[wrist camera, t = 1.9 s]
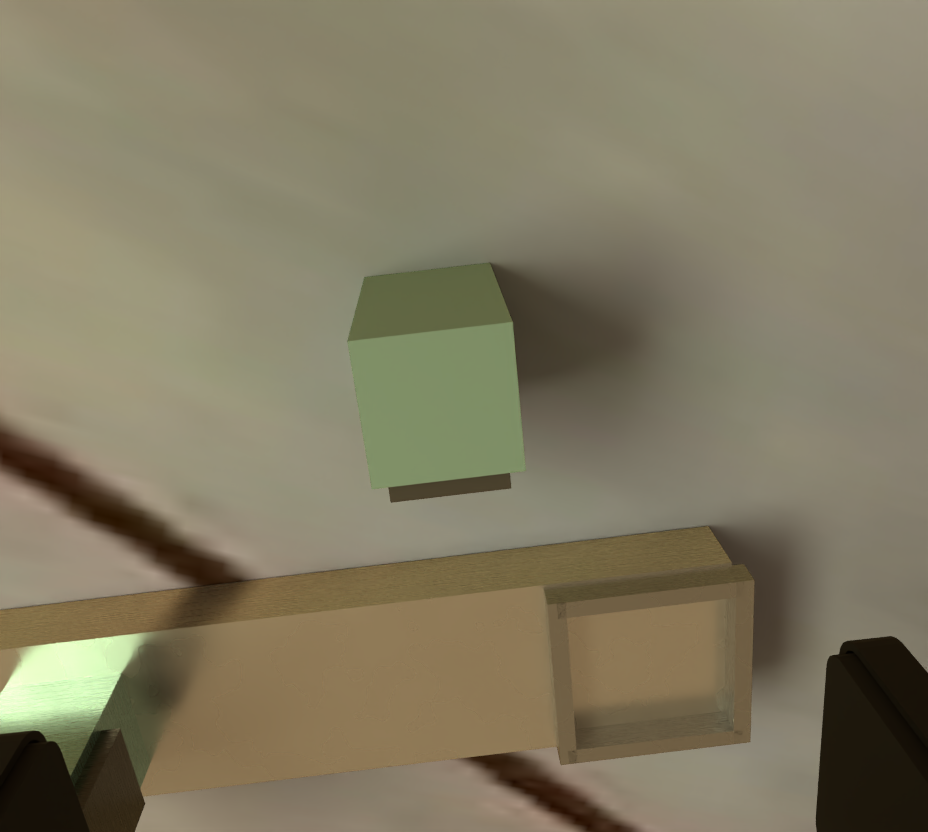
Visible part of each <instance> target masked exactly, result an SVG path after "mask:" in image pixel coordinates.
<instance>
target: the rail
mask: <svg viewBox="0 0 928 832" xmlns="http://www.w3.org/2000/svg"><path fill="white" fill-rule="evenodd" d="M754 583H755V580H754V579H753V577H752V576H751V574H750V573H749V571H748V570H747V568H746V567H745V565H744V564H738V565H732V562H731V560H730V559H729V557H728V556H727V554H726V553H725V551H724V550H723V548H722V546H721V545H720V543H719V542H718V540H717V539H716V537H715V536H714V534H713V533H712V531H711V529H710V528H709V526H704V527H696V528H688V529H679V530H671V531H662V532H654V533H646V534H637V535H629V536H620V537H612V538H604V539H595V540H587V541H578V542H570V543H562V544H553V545H545V546H536V547H528V548H520V549H511V550H503V551H494V552H486V553H477V554H469V555H461V556H452V557H444V558H435V559H427V560H419V561H410V562H402V563H393V564H385V565H377V566H368V567H360V568H351V569H343V570H335V571H326V572H318V573H309V574H301V575H293V576H284V577H276V578H267V579H259V580H251V581H242V582H234V583H225V584H217V585H209V586H200V587H192V588H183V589H175V590H167V591H158V592H150V593H141V594H133V595H125V596H116V597H108V598H99V599H91V600H82V601H74V602H66V603H57V604H49V605H40V606H32V607H24V608H15V609H7V610H0V734H6V733H15V732H24V731H33V730H34V731H39V732H41V733H42V734H43V735H44V737H45V738H46V740H47V742H48V741H54V742H56V743H57V744H58V745H59V747H60V749H61V752H62V755H63V757H64V760H65V763H66V766H67V769H68V772H69V774H70V777H71V780H72V783H73V786H74V789H75V791H76V794H77V797H78V800H79V803H80V806H81V808H82V811H83V814H84V817H85V820H86V823H87V825H88V828H89V831H90V832H135V829H136V827H137V824H138V821H139V819H140V816H141V813H142V811H143V808H144V805H145V802H144V799H143V796H151V795H159V794H167V793H175V792H184V791H192V790H200V789H209V788H217V787H225V786H234V785H242V784H250V783H258V782H267V781H275V780H283V779H292V778H300V777H308V776H316V775H325V774H333V773H341V772H350V771H358V770H366V769H375V768H383V767H391V766H399V765H408V764H416V763H424V762H433V761H441V760H449V759H457V758H466V757H474V756H482V755H491V754H499V753H507V752H516V751H524V750H532V749H540V748H549V747H557V750H558V754H559V759H560V764H561V765H565V764H573V763H582V762H590V761H598V760H606V759H615V758H623V757H631V756H640V755H648V754H656V753H664V752H673V751H681V750H689V749H697V748H706V747H714V746H722V745H731V744H739V743H747V742H750V732H751V695H752V658H753V621H754Z"/></svg>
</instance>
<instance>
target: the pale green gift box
mask: <svg viewBox="0 0 928 832" xmlns="http://www.w3.org/2000/svg"><path fill="white" fill-rule="evenodd" d="M347 342H348V348H349V354H350V360H351V366H352V372H353V378H354V384H355V391H356V397H357V403H358V409H359V415H360V421H361V427H362V433H363V439H364V445H365V451H366V457H367V463H368V469H369V475H370V481H371V487H372V489H378V488H387V487H388V488H389V494H390V501H391V502H400V501H408V500H416V499H425V498H433V497H442V496H450V495H459V494H467V493H475V492H484V491H492V490H501V489H509V488H511V481H510V473H513V472H522V471H526V468H525V457H524V445H523V434H522V422H521V411H520V400H519V388H518V377H517V365H516V354H515V343H514V331H513V321H512V319H511V316H510V314H509V311H508V309H507V306H506V303H505V301H504V298H503V296H502V293H501V290H500V288H499V285H498V283H497V280H496V277H495V275H494V272H493V270H492V267H491V264H490V263H482V264H474V265H465V266H456V267H448V268H439V269H431V270H422V271H414V272H405V273H396V274H388V275H379V276H371V277H364V281H363V285H362V288H361V292H360V296H359V300H358V303H357V307H356V311H355V315H354V318H353V322H352V326H351V330H350V333H349V337H348V341H347Z"/></svg>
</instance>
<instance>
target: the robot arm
mask: <svg viewBox="0 0 928 832" xmlns="http://www.w3.org/2000/svg"><path fill="white" fill-rule="evenodd" d="M816 828H817V832H928V673H927V672H926V670H925V669H924V668H923V667H922V666H921V664H920V663H919V662H918V661H917V660H916V659H915V657H914V656H913V655H912V654H911V653H910V652H909V650H908V649H907V648H906V647H905V646H904V645H903V643H902V642H900V641H899V640H898V639H897V638H895V637H892V636H889V637H880V638H871V639H862V640H853V641H846V642H844V643H843V644H842V646H841V648H840V653H839V655H832V656H830V657H829V659H828V661H827V668H826V682H825V696H824V710H823V724H822V738H821V753H820V767H819V781H818V795H817V809H816ZM0 832H90V831H89V828H88V825H87V823H86V820H85V817H84V814H83V811H82V808H81V806H80V803H79V800H78V797H77V794H76V791H75V789H74V786H73V783H72V780H71V777H70V774H69V772H68V769H67V766H66V763H65V760H64V757H63V755H62V752H61V749H60V747H59V745H58V744H57V743H56V742H54V741H48V742H47V740H46V738H45V737H44V735H43V734H42V733H41V732H39V731H34V730H33V731H24V732H15V733H6V734H0Z"/></svg>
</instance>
